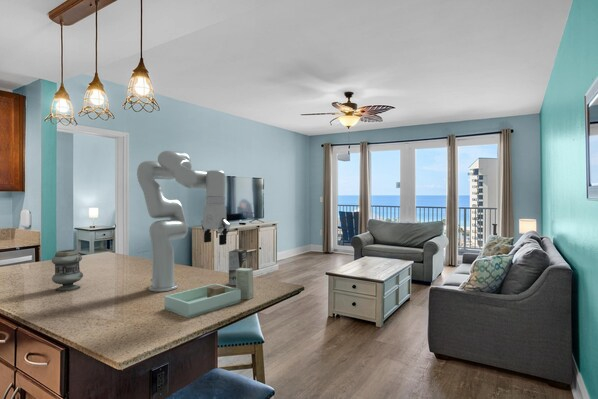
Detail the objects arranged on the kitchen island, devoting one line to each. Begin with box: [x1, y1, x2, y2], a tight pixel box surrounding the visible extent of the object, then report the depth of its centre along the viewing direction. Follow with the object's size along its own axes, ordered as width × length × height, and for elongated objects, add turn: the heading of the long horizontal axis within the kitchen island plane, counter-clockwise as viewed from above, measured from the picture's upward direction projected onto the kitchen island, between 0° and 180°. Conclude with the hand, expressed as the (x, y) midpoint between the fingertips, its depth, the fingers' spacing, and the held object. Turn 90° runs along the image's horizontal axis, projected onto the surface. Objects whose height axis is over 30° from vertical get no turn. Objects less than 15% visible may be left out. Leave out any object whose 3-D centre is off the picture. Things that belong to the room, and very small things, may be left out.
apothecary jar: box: [51, 248, 84, 293], centre depth 164 cm, size 12×12×18 cm
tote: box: [164, 283, 242, 319], centre depth 139 cm, size 16×24×5 cm, turn 141°
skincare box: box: [235, 267, 255, 300], centre depth 149 cm, size 6×4×12 cm
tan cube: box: [207, 284, 225, 298], centre depth 144 cm, size 5×5×5 cm
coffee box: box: [228, 248, 248, 286], centre depth 174 cm, size 9×6×16 cm
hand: (215, 243), depth 144 cm, fingers open, 9 cm apart
